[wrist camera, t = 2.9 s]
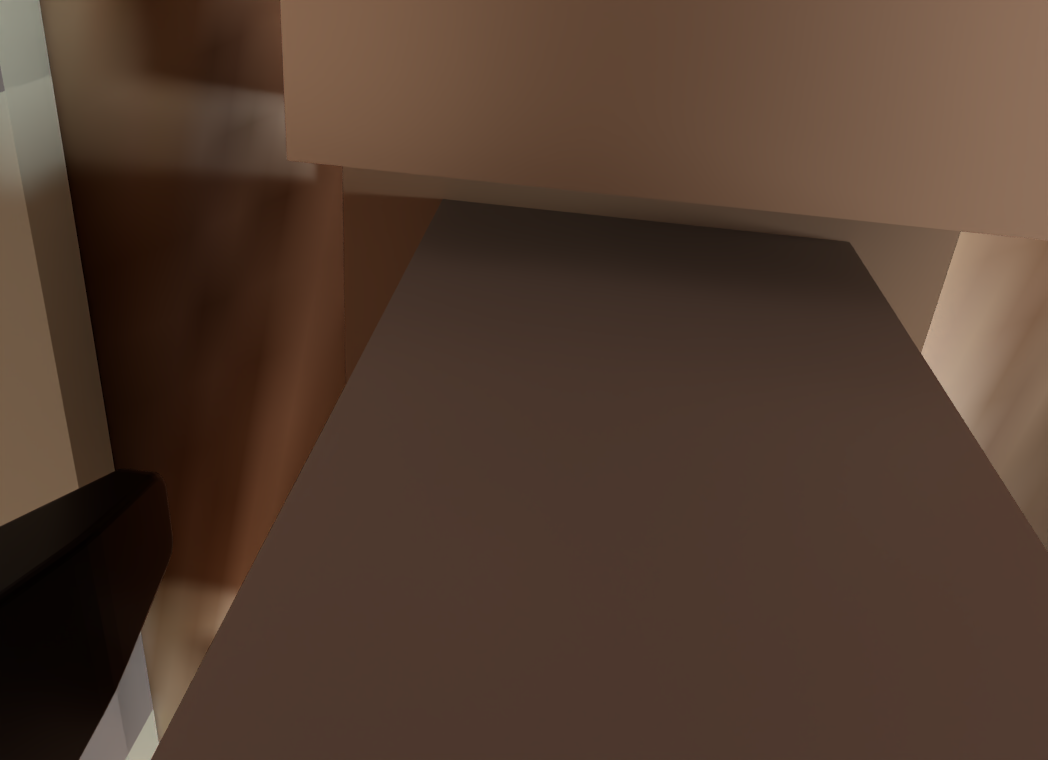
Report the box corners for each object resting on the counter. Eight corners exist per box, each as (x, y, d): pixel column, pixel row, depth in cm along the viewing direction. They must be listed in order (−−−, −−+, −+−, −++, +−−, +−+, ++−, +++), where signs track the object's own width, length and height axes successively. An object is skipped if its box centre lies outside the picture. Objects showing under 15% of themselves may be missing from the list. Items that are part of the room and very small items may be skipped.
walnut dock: (1050, -94, 8) (1175, -84, 6) (759, 820, 14) (781, 960, 12) (347, -159, 8) (273, -169, 6) (356, 769, 14) (318, 898, 12)
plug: (850, 242, 9) (1573, 1375, 2) (732, 681, 12) (891, 1759, 5) (443, 198, 9) (-54, 1146, 2) (424, 644, 12) (182, 1643, 5)
